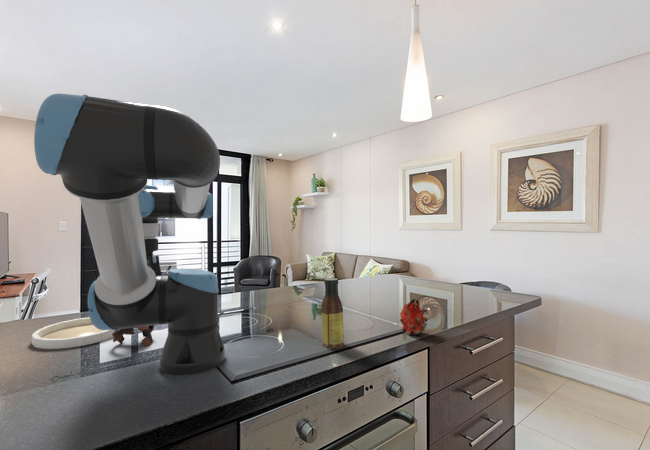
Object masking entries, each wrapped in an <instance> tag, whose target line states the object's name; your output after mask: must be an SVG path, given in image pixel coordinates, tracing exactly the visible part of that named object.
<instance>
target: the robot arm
mask: <svg viewBox="0 0 650 450" xmlns="http://www.w3.org/2000/svg"><path fill="white" fill-rule="evenodd" d="M35 120H36V121H35V126H34V134H33V135H34V137H33V138H34V140H33V141H34V142H33V144H34V146H33V147H34V154H35V160H36V163H37V166H38V167H39V170H41V171H42V172H43V173H45V174H47V175H51V176H57V175H60V177H61V179H62V184H63V187H64V188H65V189H66V191H67V192H68V193H70V194H71V195H73V196H75V197H77V198H79V201H80V204H81V208H82V213H83V216H84V219H85V223H86V226H87V227H86V228H87V230H88V235H89V239H90V242H91V244H92V250H93V252H94V253H93V254H94V257H95V261H96V265H97V270H98V272H99V276H98V277H97V278H96V279H95V280H94V281H93V282H92V283H91V285H90V286H89V290H88V293H87V308H88V317H90V320H91V322H92V324H93V325H94V326H95V327H96V328H97V329H100V330H120V329H127V328H134V329H135V328H137V327H144V326H152V325H154V326H159V325H167V327H168V328H167V337H166V340H165V343H164V344H163V345H164V346H163V347H162V350H161V354H160V358H159V369H160V371H161V372H162V373H164V374H166V375H171V376H190V375H196V374H202V373H206V372H208V371H210V370H213V369H215V368H217V367H219V366H220V365H221V364H222V363H223V362H224V361H225V358H226V350H225V345H224V343H223V340H222V337H221V333H220V331H219V322H218V321H219V312H218V311H219V308H218V307H219V299H218V297H219V295H218V294H219V292H220V290H219V285H218V284H219V281H218V276H217V275H216V274H215V273H213V272H211V271H209V270H203V269H199V268H197V269H196V268H184V267H183V268H182V267H181V268H170V269H169V270H168V272H167V275H163V274H162V271H161V265H160V256H159V255H154V253H153V252H157V251H158V250H159V239H158V237H159V229H160V226H159V219H198V220H200V219H201V220H202V219H210V218H212V217H213V211H214V198H213V194H212V193H211V192H209V190H210V187H211V183H212V182H213V181H215V179H216V178H217V177H218V174H219V171H220V170H219V169H220V168H221V167H220V166H221V157H220V152H219V149H218V146H217V144H216V143H215V141H214V140H213V137H212V136H211V134H209V132H208V131H207V130H206V129H205V128H204V127H203V126H201V124H199V122H197V121H195V120H194V119H193V118H191V117H190V116H188V115H186V114H185V113H182V112H181V111H179V110H176V109H173V108H170V107H168V106H160V105H151V104H145V103H137V102H131V101H123V100H115V99H111V98H103V97H96V96H89V95H88V94H82V95H79V94H69V93H68V94H67V93H54V94H51V95H48V96H47V97H46V98H45V99H44V101H42V103H41V105H40V106H39V109H38V112H37V115H36V119H35ZM148 180H153V181H154V180H156V181H158V180H162V181H172V182H173V190H161V189H160V190H159V188H158V187H157V186H156V185H152V184H151V185H149V184H147V183H148Z"/></svg>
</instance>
